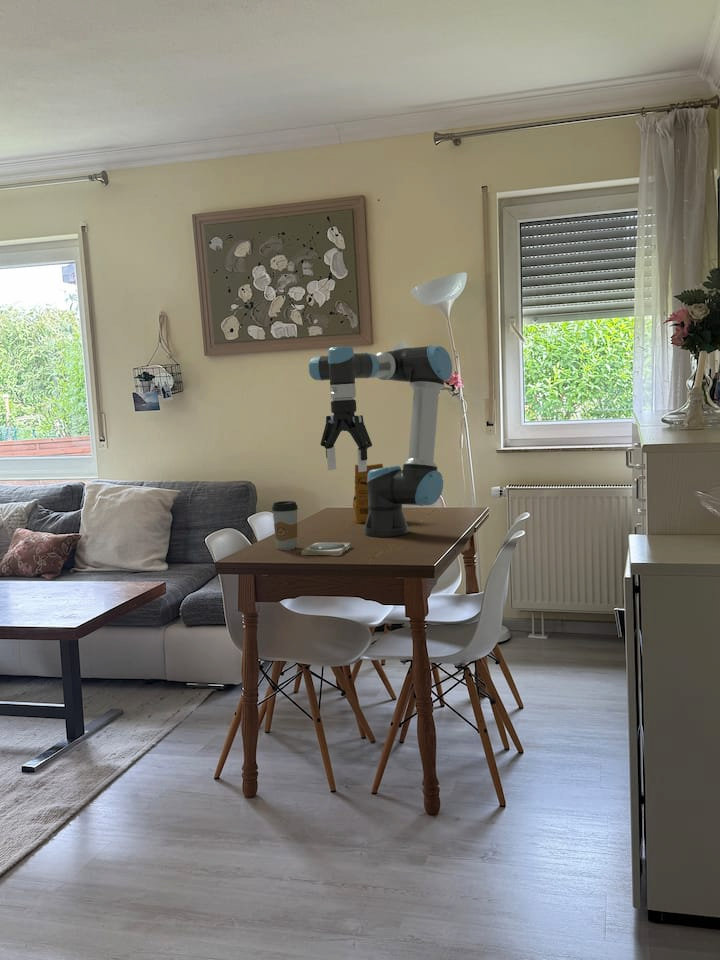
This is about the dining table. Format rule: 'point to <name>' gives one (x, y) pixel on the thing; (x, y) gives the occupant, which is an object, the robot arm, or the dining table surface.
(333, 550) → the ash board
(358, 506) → the coffee package
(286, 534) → the coffee cup
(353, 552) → the dining table surface
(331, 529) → the dining table surface
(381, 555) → the dining table surface
